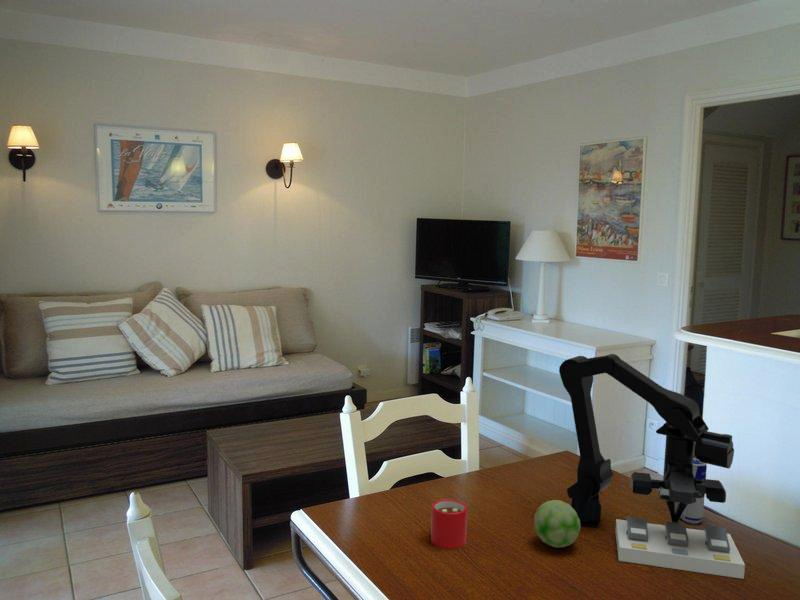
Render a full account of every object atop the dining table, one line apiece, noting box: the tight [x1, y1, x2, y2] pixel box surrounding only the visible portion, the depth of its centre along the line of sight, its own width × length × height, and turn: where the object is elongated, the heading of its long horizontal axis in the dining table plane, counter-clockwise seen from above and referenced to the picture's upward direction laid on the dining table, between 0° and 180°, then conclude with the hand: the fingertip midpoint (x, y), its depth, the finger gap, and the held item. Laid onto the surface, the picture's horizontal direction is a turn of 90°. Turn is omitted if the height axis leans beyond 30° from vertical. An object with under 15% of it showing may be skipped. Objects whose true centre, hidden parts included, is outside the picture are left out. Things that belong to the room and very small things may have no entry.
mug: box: [430, 497, 468, 550], centre depth 148 cm, size 8×12×8 cm, turn 8°
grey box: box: [664, 520, 689, 546], centre depth 142 cm, size 4×6×1 cm, turn 165°
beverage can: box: [680, 457, 708, 525], centre depth 158 cm, size 5×5×15 cm
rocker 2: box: [703, 524, 730, 553], centre depth 140 cm, size 4×6×1 cm, turn 165°
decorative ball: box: [533, 499, 581, 549], centre depth 144 cm, size 10×10×10 cm
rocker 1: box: [626, 515, 648, 540], centre depth 144 cm, size 4×6×1 cm, turn 165°
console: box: [615, 518, 746, 580], centre depth 142 cm, size 24×14×4 cm, turn 75°
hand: (674, 523), depth 145 cm, fingers closed, pressing on grey box
